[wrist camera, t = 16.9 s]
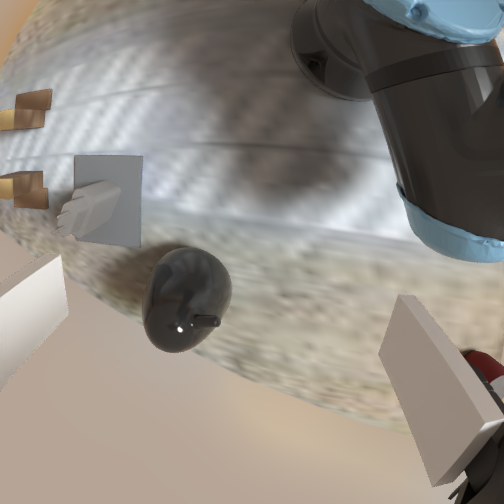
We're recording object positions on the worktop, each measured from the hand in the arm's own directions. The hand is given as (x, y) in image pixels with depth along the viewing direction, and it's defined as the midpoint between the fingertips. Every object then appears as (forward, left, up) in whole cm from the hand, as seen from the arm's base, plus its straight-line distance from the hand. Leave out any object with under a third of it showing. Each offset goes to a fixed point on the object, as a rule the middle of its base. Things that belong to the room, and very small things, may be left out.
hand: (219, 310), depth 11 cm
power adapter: (+3, -19, -28) cm, 34 cm away
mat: (+3, -19, -29) cm, 35 cm away
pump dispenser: (+12, -6, -29) cm, 32 cm away
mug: (+25, +42, -29) cm, 57 cm away
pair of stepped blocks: (-4, -33, -29) cm, 44 cm away
